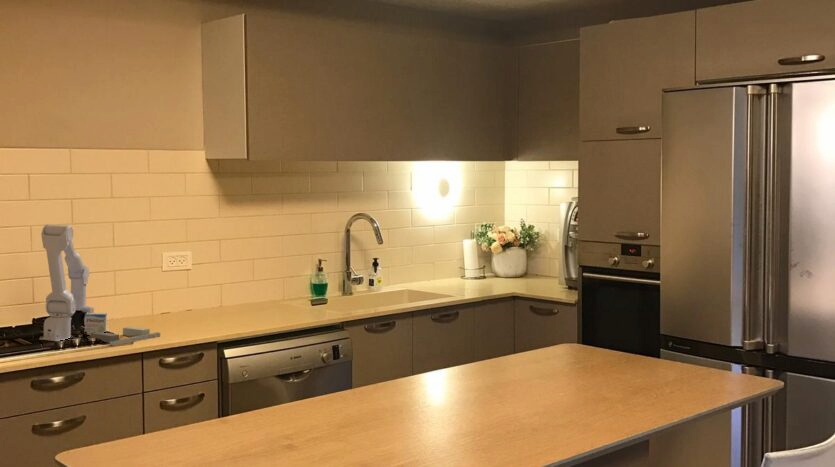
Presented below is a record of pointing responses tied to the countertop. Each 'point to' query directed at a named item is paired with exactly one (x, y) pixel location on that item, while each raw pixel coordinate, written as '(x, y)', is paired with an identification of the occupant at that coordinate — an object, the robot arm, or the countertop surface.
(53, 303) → the robot arm
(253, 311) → the countertop surface
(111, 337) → the mounted modules
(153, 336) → the din rail
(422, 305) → the countertop surface
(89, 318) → the medicine box
